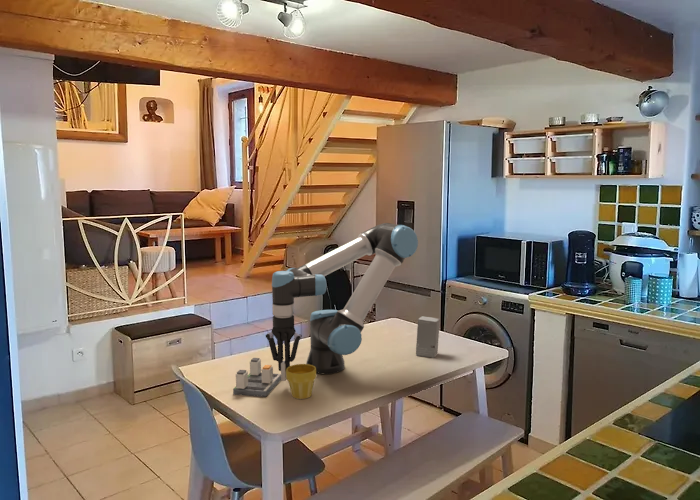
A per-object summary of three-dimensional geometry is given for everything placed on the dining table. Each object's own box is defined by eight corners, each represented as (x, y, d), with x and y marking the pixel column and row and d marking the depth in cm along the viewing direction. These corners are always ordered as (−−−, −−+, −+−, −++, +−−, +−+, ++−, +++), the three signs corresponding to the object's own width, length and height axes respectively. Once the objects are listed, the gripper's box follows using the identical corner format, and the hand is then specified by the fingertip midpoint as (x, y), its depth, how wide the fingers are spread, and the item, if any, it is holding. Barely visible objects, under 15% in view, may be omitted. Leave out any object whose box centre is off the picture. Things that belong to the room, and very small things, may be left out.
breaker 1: (248, 385, 197) (247, 369, 196) (244, 388, 194) (243, 373, 193) (240, 384, 198) (239, 369, 197) (236, 388, 194) (235, 372, 194)
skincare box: (415, 355, 235) (416, 319, 233) (420, 350, 242) (420, 315, 239) (435, 358, 232) (436, 321, 230) (439, 353, 238) (440, 317, 236)
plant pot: (286, 390, 198) (286, 363, 197) (316, 389, 199) (315, 362, 198) (286, 402, 188) (285, 374, 187) (316, 401, 189) (316, 373, 188)
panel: (281, 379, 209) (281, 373, 208) (265, 397, 192) (265, 391, 192) (251, 376, 211) (251, 371, 211) (233, 394, 195) (233, 388, 194)
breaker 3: (273, 379, 202) (272, 364, 201) (269, 383, 199) (269, 368, 198) (265, 379, 203) (264, 364, 202) (261, 382, 199) (261, 367, 198)
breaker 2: (261, 372, 210) (260, 357, 209) (257, 375, 206) (257, 360, 206) (253, 371, 210) (253, 357, 210) (250, 374, 207) (249, 360, 206)
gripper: (304, 313, 198) (304, 377, 201) (269, 311, 201) (270, 374, 204) (298, 318, 191) (298, 384, 194) (262, 316, 193) (263, 381, 197)
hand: (284, 379), depth 199 cm, fingers closed
